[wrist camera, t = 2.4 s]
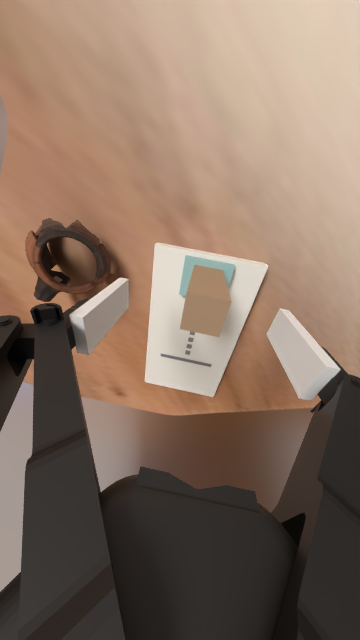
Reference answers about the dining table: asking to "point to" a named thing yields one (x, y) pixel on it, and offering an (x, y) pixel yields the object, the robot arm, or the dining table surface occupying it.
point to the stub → (205, 295)
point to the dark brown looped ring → (44, 262)
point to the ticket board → (185, 346)
